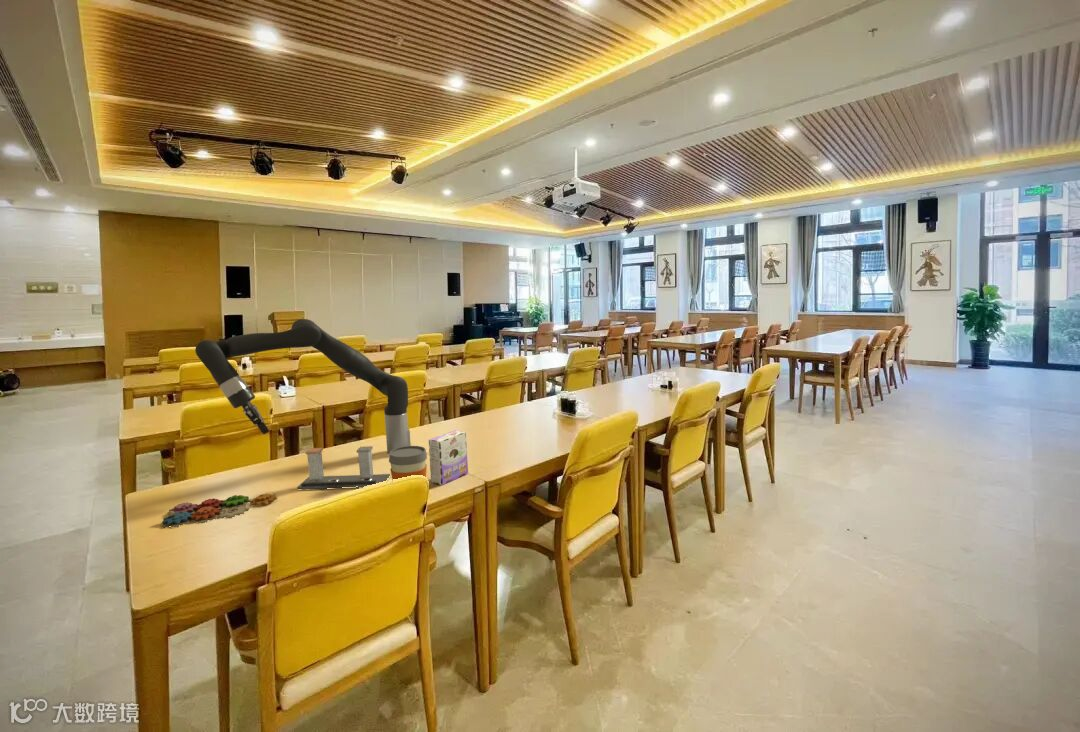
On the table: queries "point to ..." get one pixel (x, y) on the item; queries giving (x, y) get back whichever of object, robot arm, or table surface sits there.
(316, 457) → the sliding pointer
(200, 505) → the gear puzzle
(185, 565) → the table surface
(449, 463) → the candy box
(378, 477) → the bolt plate
